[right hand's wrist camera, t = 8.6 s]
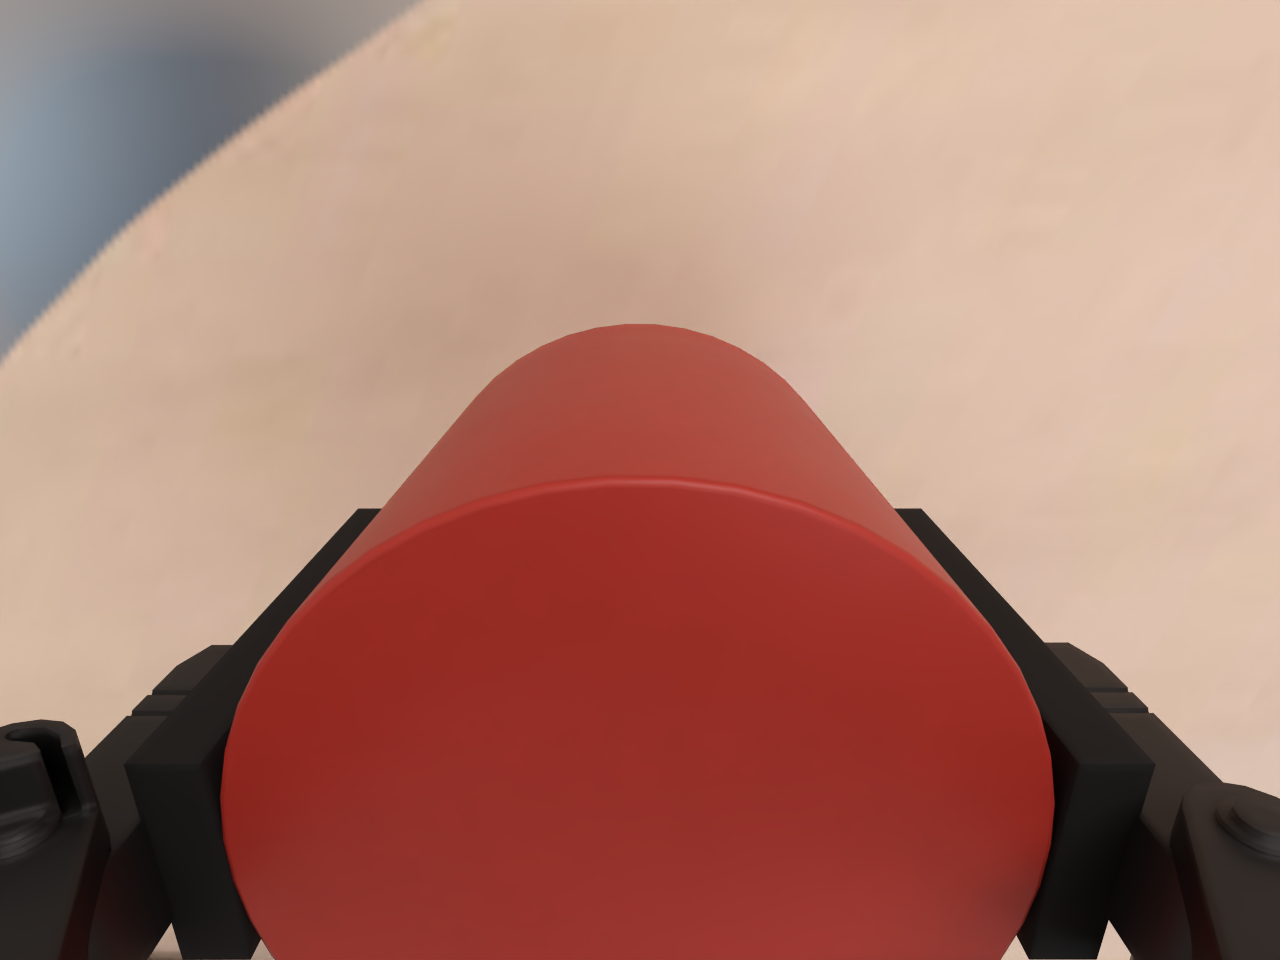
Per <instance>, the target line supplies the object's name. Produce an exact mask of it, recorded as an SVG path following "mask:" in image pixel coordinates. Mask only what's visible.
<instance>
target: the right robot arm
mask: <svg viewBox="0 0 1280 960" xmlns="http://www.w3.org/2000/svg"><path fill="white" fill-rule="evenodd" d="M380 510H381V509H358V510H357V511H356V512H355V513H354V514H353V515H352V516H351V517H350V518H349V519H348V520H347V521H346V523H345V524H344V525H343V526H342V527H341V528H340V529H339V530H338V531H337V532H336V533H335V535H334V536H333V537H332V538H331V539H330V540H329V541H328V542H327V543H326V544H325V545H324V547H323V548H322V549H321V550H320V551H319V552H318V553H317V554H316V555H315V556H314V557H313V559H312V560H311V561H310V562H309V563H308V564H307V565H306V566H305V567H304V568H303V569H302V571H301V572H300V573H299V574H298V575H297V576H296V577H295V578H294V579H293V580H292V581H291V582H290V584H289V585H288V586H287V587H286V588H285V589H284V590H283V591H282V592H281V593H280V594H279V596H278V597H277V598H276V599H275V600H274V601H273V602H272V603H271V604H270V605H269V606H268V608H267V609H266V610H265V611H264V612H263V613H262V614H261V615H260V616H259V617H258V618H257V620H256V621H255V622H254V623H253V624H252V625H251V626H250V627H249V628H248V629H247V630H246V632H245V633H244V634H243V635H242V636H241V637H240V638H239V639H238V640H237V641H236V642H235V643H234V645H211V646H209V647H208V648H206V649H204V650H203V651H201V652H199V653H198V654H196V655H194V656H193V657H191V658H189V659H188V660H186V661H184V662H182V663H181V664H179V665H177V666H176V667H175V668H174V669H173V670H172V671H171V672H170V673H169V674H168V675H167V676H166V677H165V678H164V679H163V680H162V681H161V682H160V683H159V684H158V685H157V686H156V687H155V688H154V689H153V690H152V695H147V696H146V697H145V698H144V699H143V700H142V701H141V702H140V703H139V704H138V705H137V706H136V707H135V708H134V709H133V710H132V715H131V716H126V717H125V718H124V719H123V720H122V721H121V722H120V723H119V724H118V725H117V726H116V727H115V728H114V729H113V730H112V731H111V732H110V733H109V734H108V735H107V736H106V737H105V738H104V739H103V740H102V741H101V742H100V743H99V744H98V745H97V746H96V747H95V748H94V749H93V750H92V751H91V752H90V753H89V754H88V755H87V756H86V757H85V758H84V754H83V751H82V748H81V745H80V742H79V739H78V736H77V733H76V730H75V729H73V728H72V727H70V726H69V725H67V724H66V723H64V722H61V721H51V720H34V721H27V722H20V723H12V724H9V725H6V726H3V727H0V960H150V957H149V956H150V955H151V953H152V952H153V950H154V949H155V947H156V945H157V944H158V942H159V941H160V939H161V938H162V936H163V935H164V933H165V932H166V930H167V929H168V927H169V925H170V924H171V922H172V926H173V929H174V932H175V935H176V939H177V942H178V945H179V949H180V952H181V955H182V958H183V960H250V959H251V958H252V956H253V954H254V952H255V950H256V948H257V946H258V944H259V942H260V940H261V937H260V936H259V934H258V932H257V931H256V929H255V928H254V926H253V924H252V923H251V921H250V919H249V917H248V915H247V912H246V910H245V908H244V905H243V903H242V900H241V898H240V896H239V893H238V891H237V889H236V886H235V884H234V881H233V878H232V874H231V870H230V866H229V862H228V858H227V853H226V849H225V845H224V841H223V831H222V817H221V803H220V793H221V784H222V774H223V764H224V754H225V748H226V744H227V741H228V737H229V734H230V730H231V726H232V723H233V719H234V716H235V712H236V709H237V705H238V703H239V701H240V699H241V697H242V695H243V693H244V691H245V689H246V687H247V684H248V682H249V680H250V678H251V676H252V674H253V672H254V670H255V668H256V666H257V664H258V662H259V660H260V659H261V658H262V656H263V655H264V653H265V652H266V650H267V649H268V648H269V646H270V645H271V643H272V642H273V641H274V639H275V638H276V636H277V635H278V634H279V632H280V631H281V629H282V628H283V626H284V625H285V624H286V622H287V621H288V620H289V618H290V617H291V616H292V615H293V614H294V613H295V611H296V610H297V609H298V608H299V607H300V605H301V604H302V603H303V602H304V601H305V599H306V598H307V597H308V596H309V595H310V594H311V592H312V591H313V590H314V589H315V588H316V586H317V585H318V584H319V583H320V582H321V581H322V579H323V578H324V577H325V576H326V575H327V573H328V572H329V571H330V570H331V569H332V567H333V566H334V565H335V564H336V563H337V562H338V560H339V559H340V558H341V557H342V556H343V554H344V553H345V552H346V551H347V550H348V548H349V547H350V546H351V545H352V544H353V543H354V541H355V540H356V539H357V538H358V537H359V535H360V534H361V533H362V532H363V531H364V529H365V528H366V527H367V526H368V525H369V524H370V522H371V521H372V520H373V519H374V518H375V516H376V515H377V514H378V513H379V512H380ZM894 510H895V511H896V512H897V513H898V514H899V516H900V517H901V518H902V519H903V520H904V522H905V523H906V524H907V525H908V526H909V528H910V529H911V530H912V531H913V532H914V534H915V535H916V536H917V537H918V539H919V540H920V541H921V542H922V543H923V545H924V546H925V547H926V548H927V549H928V551H929V552H930V553H931V554H932V555H933V557H934V558H935V559H936V560H937V561H938V563H939V564H940V565H941V566H942V567H943V569H944V570H945V571H946V572H947V573H948V575H949V576H950V577H951V578H952V579H953V581H954V582H955V583H956V584H957V585H958V587H959V588H960V589H961V590H962V592H963V593H964V594H965V595H966V596H967V598H968V599H969V600H970V601H971V602H972V604H973V605H974V606H975V607H976V608H977V610H978V611H979V612H980V613H981V614H982V616H983V617H984V618H985V619H986V620H987V622H988V623H989V624H990V625H991V626H992V628H993V629H994V631H995V632H996V634H997V635H998V637H999V638H1000V640H1001V641H1002V643H1003V644H1004V646H1005V647H1006V649H1007V650H1008V652H1009V653H1010V654H1011V656H1012V657H1013V659H1014V660H1015V662H1016V663H1017V665H1018V666H1019V668H1020V670H1021V672H1022V674H1023V676H1024V679H1025V681H1026V683H1027V685H1028V687H1029V690H1030V692H1031V694H1032V696H1033V698H1034V701H1035V703H1036V705H1037V707H1038V709H1039V712H1040V716H1041V720H1042V724H1043V727H1044V731H1045V735H1046V739H1047V743H1048V747H1049V750H1050V754H1051V763H1052V775H1053V788H1054V800H1055V806H1054V816H1053V827H1052V838H1051V847H1050V850H1049V854H1048V858H1047V862H1046V865H1045V869H1044V873H1043V877H1042V880H1041V884H1040V887H1039V889H1038V892H1037V894H1036V896H1035V898H1034V901H1033V903H1032V905H1031V907H1030V910H1029V912H1028V914H1027V916H1026V919H1025V921H1024V923H1023V925H1022V927H1021V928H1020V930H1019V931H1018V933H1017V937H1018V939H1019V941H1020V943H1021V945H1022V947H1023V949H1024V951H1025V953H1026V955H1027V957H1028V958H1029V959H1097V956H1098V953H1099V950H1100V947H1101V943H1102V940H1103V937H1104V933H1105V930H1106V927H1107V924H1108V920H1109V921H1110V922H1111V924H1112V925H1113V927H1114V928H1115V930H1116V931H1117V933H1118V935H1119V936H1120V938H1121V939H1122V941H1123V942H1124V944H1125V945H1126V947H1127V948H1128V950H1129V951H1130V953H1131V957H1130V960H1280V799H1279V798H1277V797H1275V796H1272V795H1269V794H1266V793H1264V792H1261V791H1258V790H1255V789H1252V788H1249V787H1247V786H1242V785H1235V784H1229V783H1223V782H1222V781H1221V780H1220V779H1219V778H1218V777H1217V776H1216V775H1215V774H1214V773H1213V772H1212V771H1211V770H1210V769H1209V768H1208V767H1207V766H1206V765H1205V764H1204V763H1203V762H1202V761H1201V760H1200V759H1199V758H1198V757H1197V756H1196V755H1195V754H1194V753H1193V752H1192V751H1191V750H1190V749H1189V748H1188V747H1187V746H1186V745H1185V744H1184V743H1183V742H1182V741H1181V740H1180V739H1179V738H1178V737H1177V736H1176V735H1175V734H1174V733H1173V732H1172V731H1171V730H1170V729H1169V728H1168V727H1167V726H1166V725H1165V724H1164V723H1163V722H1162V721H1161V720H1160V719H1159V718H1158V717H1157V716H1156V715H1155V714H1154V713H1149V712H1148V707H1147V706H1146V705H1145V704H1144V703H1143V702H1142V701H1141V700H1140V699H1139V698H1138V697H1137V696H1136V695H1135V694H1134V693H1133V692H1128V687H1127V686H1126V685H1125V684H1124V683H1123V682H1122V681H1121V680H1120V679H1119V678H1118V677H1117V676H1116V675H1115V674H1114V673H1113V672H1112V671H1111V670H1110V669H1109V668H1108V667H1107V666H1106V665H1104V664H1103V663H1102V662H1100V661H1099V660H1097V659H1095V658H1093V657H1092V656H1090V655H1088V654H1087V653H1085V652H1083V651H1082V650H1080V649H1078V648H1077V647H1075V646H1073V645H1071V644H1070V643H1044V642H1043V641H1042V640H1041V639H1040V638H1039V636H1038V635H1037V634H1036V633H1035V632H1034V631H1033V630H1032V629H1031V628H1030V627H1029V626H1028V624H1027V623H1026V622H1025V621H1024V620H1023V619H1022V618H1021V617H1020V616H1019V615H1018V614H1017V612H1016V611H1015V610H1014V609H1013V608H1012V607H1011V606H1010V605H1009V604H1008V603H1007V602H1006V600H1005V599H1004V598H1003V597H1002V596H1001V595H1000V594H999V593H998V592H997V591H996V590H995V589H994V587H993V586H992V585H991V584H990V583H989V582H988V581H987V580H986V579H985V578H984V577H983V575H982V574H981V573H980V572H979V571H978V570H977V569H976V568H975V567H974V566H973V565H972V563H971V562H970V561H969V560H968V559H967V558H966V557H965V556H964V555H963V554H962V553H961V551H960V550H959V549H958V548H957V547H956V546H955V545H954V544H953V543H952V542H951V541H950V539H949V538H948V537H947V536H946V535H945V534H944V533H943V532H942V531H941V530H940V529H939V527H938V526H937V525H936V524H935V523H934V522H933V521H932V520H931V519H930V518H929V517H928V516H927V514H926V513H925V512H924V511H923V510H922V509H894Z"/></svg>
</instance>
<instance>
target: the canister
mask: <svg viewBox="0 0 1280 960" xmlns="http://www.w3.org/2000/svg"><path fill="white" fill-rule="evenodd" d="M220 803H221V817H222V831H223V841H224V845H225V849H226V853H227V858H228V862H229V866H230V870H231V874H232V878H233V881H234V884H235V886H236V889H237V891H238V893H239V896H240V898H241V900H242V903H243V905H244V908H245V910H246V912H247V915H248V917H249V919H250V921H251V923H252V924H253V926H254V928H255V929H256V931H257V932H258V934H259V936H260V937H261V939H262V941H263V942H264V944H265V946H266V947H267V949H268V951H269V952H270V954H271V955H272V957H273V958H274V959H275V960H1001V958H1002V957H1003V955H1004V954H1005V952H1006V950H1007V949H1008V947H1009V946H1010V944H1011V942H1012V941H1013V939H1014V938H1015V936H1016V935H1017V933H1018V931H1019V930H1020V928H1021V927H1022V925H1023V923H1024V921H1025V919H1026V916H1027V914H1028V912H1029V910H1030V907H1031V905H1032V903H1033V901H1034V898H1035V896H1036V894H1037V892H1038V889H1039V887H1040V884H1041V880H1042V877H1043V873H1044V869H1045V865H1046V862H1047V858H1048V854H1049V850H1050V847H1051V838H1052V827H1053V816H1054V806H1055V800H1054V788H1053V775H1052V763H1051V754H1050V750H1049V747H1048V743H1047V739H1046V735H1045V731H1044V727H1043V724H1042V720H1041V716H1040V712H1039V709H1038V707H1037V705H1036V703H1035V701H1034V698H1033V696H1032V694H1031V692H1030V690H1029V687H1028V685H1027V683H1026V681H1025V679H1024V676H1023V674H1022V672H1021V670H1020V668H1019V666H1018V665H1017V663H1016V662H1015V660H1014V659H1013V657H1012V656H1011V654H1010V653H1009V652H1008V650H1007V649H1006V647H1005V646H1004V644H1003V643H1002V641H1001V640H1000V638H999V637H998V635H997V634H996V632H995V631H994V629H993V628H992V626H991V625H990V624H989V623H988V622H987V620H986V619H985V618H984V617H983V616H982V614H981V613H980V612H979V611H978V610H977V608H976V607H975V606H974V605H973V604H972V602H971V601H970V600H969V599H968V598H967V596H966V595H965V594H964V593H963V592H962V590H961V589H960V588H959V587H958V585H957V584H956V583H955V582H954V581H953V579H952V578H951V577H950V576H949V575H948V573H947V572H946V571H945V570H944V569H943V567H942V566H941V565H940V564H939V563H938V561H937V560H936V559H935V558H934V557H933V555H932V554H931V553H930V552H929V551H928V549H927V548H926V547H925V546H924V545H923V543H922V542H921V541H920V540H919V539H918V537H917V536H916V535H915V534H914V532H913V531H912V530H911V529H910V528H909V526H908V525H907V524H906V523H905V522H904V520H903V519H902V518H901V517H900V516H899V514H898V513H897V512H896V511H895V510H894V508H893V507H892V506H891V505H890V504H889V502H888V501H887V500H886V499H885V498H884V496H883V495H882V494H881V493H880V492H879V490H878V489H877V488H876V487H875V486H874V484H873V483H872V482H871V481H870V479H869V478H868V477H867V476H866V475H865V473H864V472H863V471H862V470H861V469H860V467H859V466H858V465H857V464H856V463H855V461H854V460H853V459H852V458H851V457H850V455H849V454H848V453H847V452H846V451H845V449H844V448H843V447H842V446H841V445H840V443H839V442H838V441H837V440H836V439H835V437H834V436H833V435H832V434H831V433H830V431H829V430H828V429H827V428H826V427H825V425H824V424H823V423H822V422H821V420H820V419H819V418H818V417H817V416H816V414H815V413H814V412H813V411H812V410H811V408H810V407H809V406H808V405H807V404H806V402H805V401H804V400H803V399H802V398H801V397H800V396H799V395H798V394H797V393H796V391H795V390H794V389H793V388H792V387H791V386H790V385H789V384H788V383H787V382H786V381H785V380H784V379H783V378H782V377H780V376H779V375H778V374H777V373H776V372H774V371H773V370H772V369H771V368H769V367H768V366H767V365H766V364H764V363H763V362H761V361H760V360H758V359H757V358H755V357H753V356H752V355H750V354H748V353H747V352H745V351H743V350H742V349H740V348H738V347H736V346H733V345H731V344H729V343H726V342H724V341H722V340H720V339H717V338H715V337H713V336H709V335H705V334H702V333H698V332H695V331H691V330H688V329H684V328H677V327H670V326H663V325H656V324H623V325H615V326H607V327H599V328H594V329H590V330H586V331H582V332H579V333H575V334H571V335H568V336H565V337H563V338H560V339H558V340H555V341H553V342H550V343H548V344H546V345H543V346H541V347H539V348H538V349H536V350H534V351H532V352H531V353H529V354H527V355H525V356H524V357H522V358H520V359H519V360H517V361H516V362H514V363H513V364H512V365H510V366H509V367H508V368H507V369H505V370H504V371H503V372H501V373H500V374H499V375H498V376H496V377H495V378H494V379H493V380H492V381H491V382H490V383H489V384H488V385H487V386H486V387H485V388H484V389H483V390H482V392H481V393H480V394H479V395H478V396H477V397H476V398H475V399H474V400H473V401H472V403H471V404H470V405H469V406H468V407H467V408H466V410H465V411H464V412H463V413H462V414H461V416H460V417H459V418H458V419H457V420H456V422H455V423H454V424H453V425H452V426H451V427H450V429H449V430H448V431H447V432H446V433H445V435H444V436H443V437H442V438H441V439H440V440H439V442H438V443H437V444H436V445H435V446H434V448H433V449H432V450H431V451H430V452H429V454H428V455H427V456H426V457H425V458H424V459H423V461H422V462H421V463H420V464H419V465H418V467H417V468H416V469H415V470H414V471H413V473H412V474H411V475H410V476H409V477H408V478H407V480H406V481H405V482H404V483H403V484H402V486H401V487H400V488H399V489H398V490H397V492H396V493H395V494H394V495H393V496H392V497H391V499H390V500H389V501H388V502H387V503H386V505H385V506H384V507H383V508H382V509H381V510H380V512H379V513H378V514H377V515H376V516H375V518H374V519H373V520H372V521H371V522H370V524H369V525H368V526H367V527H366V528H365V529H364V531H363V532H362V533H361V534H360V535H359V537H358V538H357V539H356V540H355V541H354V543H353V544H352V545H351V546H350V547H349V548H348V550H347V551H346V552H345V553H344V554H343V556H342V557H341V558H340V559H339V560H338V562H337V563H336V564H335V565H334V566H333V567H332V569H331V570H330V571H329V572H328V573H327V575H326V576H325V577H324V578H323V579H322V581H321V582H320V583H319V584H318V585H317V586H316V588H315V589H314V590H313V591H312V592H311V594H310V595H309V596H308V597H307V598H306V599H305V601H304V602H303V603H302V604H301V605H300V607H299V608H298V609H297V610H296V611H295V613H294V614H293V615H292V616H291V617H290V618H289V620H288V621H287V622H286V624H285V625H284V626H283V628H282V629H281V631H280V632H279V634H278V635H277V636H276V638H275V639H274V641H273V642H272V643H271V645H270V646H269V648H268V649H267V650H266V652H265V653H264V655H263V656H262V658H261V659H260V660H259V662H258V664H257V666H256V668H255V670H254V672H253V674H252V676H251V678H250V680H249V682H248V684H247V687H246V689H245V691H244V693H243V695H242V697H241V699H240V701H239V703H238V705H237V709H236V712H235V716H234V719H233V723H232V726H231V730H230V734H229V737H228V741H227V744H226V748H225V754H224V764H223V774H222V784H221V793H220Z"/></svg>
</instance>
